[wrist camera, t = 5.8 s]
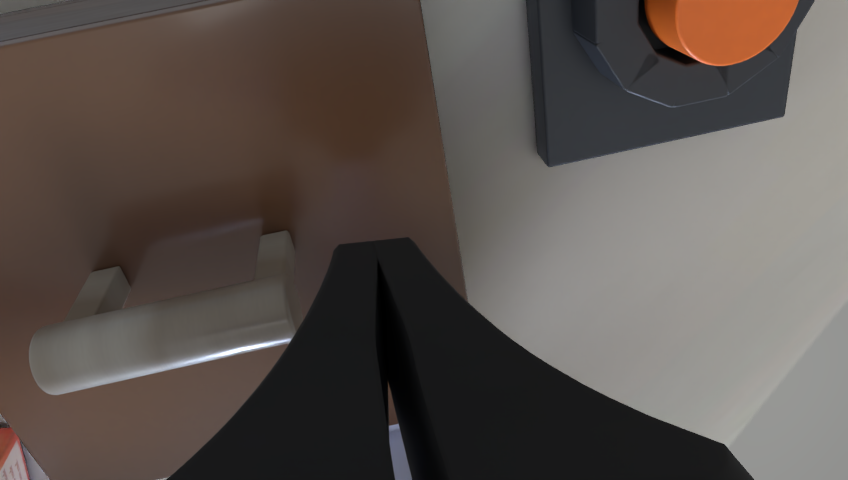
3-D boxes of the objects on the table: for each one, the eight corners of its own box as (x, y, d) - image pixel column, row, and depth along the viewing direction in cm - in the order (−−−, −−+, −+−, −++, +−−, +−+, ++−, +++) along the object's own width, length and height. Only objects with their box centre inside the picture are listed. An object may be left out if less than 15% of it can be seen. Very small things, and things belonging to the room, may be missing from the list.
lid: (480, 390, 19) (515, 502, 16) (71, 484, 19) (17, 621, 15) (410, -41, 13) (444, -9, 9) (-217, 85, 12) (-423, 167, 9)
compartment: (447, 278, 23) (476, 371, 19) (108, 354, 23) (60, 466, 18) (387, -64, 17) (410, -42, 13) (-79, 29, 17) (-216, 83, 12)
